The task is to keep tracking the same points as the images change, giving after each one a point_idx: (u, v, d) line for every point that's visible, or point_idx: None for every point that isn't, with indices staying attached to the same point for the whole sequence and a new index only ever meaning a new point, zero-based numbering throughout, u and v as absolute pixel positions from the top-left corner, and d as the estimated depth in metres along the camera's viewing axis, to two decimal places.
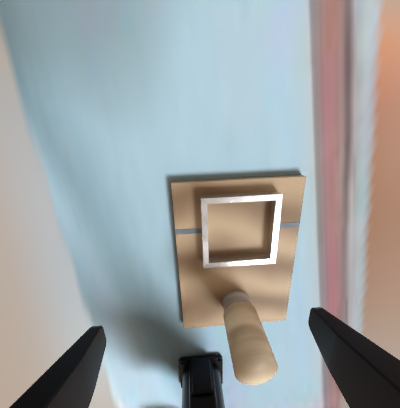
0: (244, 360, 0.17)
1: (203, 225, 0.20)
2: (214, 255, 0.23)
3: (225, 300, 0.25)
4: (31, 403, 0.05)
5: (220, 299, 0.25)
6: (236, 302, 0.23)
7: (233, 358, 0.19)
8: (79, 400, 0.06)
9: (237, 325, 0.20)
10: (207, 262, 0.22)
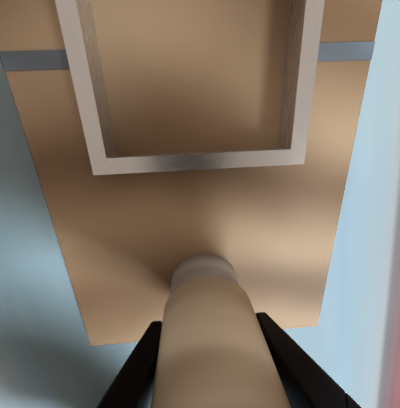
0: None
1: None
2: (135, 151, 0.08)
3: (174, 277, 0.10)
4: (121, 395, 0.06)
5: (166, 278, 0.11)
6: (196, 279, 0.08)
7: None
8: None
9: (180, 352, 0.06)
10: (101, 154, 0.07)
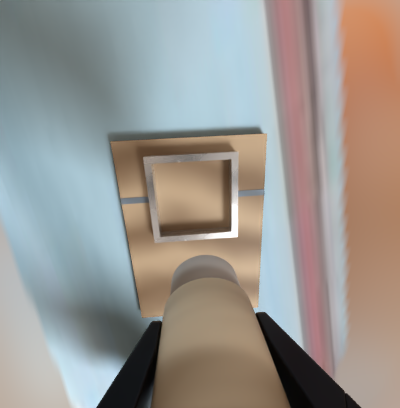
0: None
1: (149, 190, 0.18)
2: (169, 229, 0.20)
3: (174, 278, 0.10)
4: (121, 395, 0.06)
5: None
6: (196, 280, 0.08)
7: None
8: None
9: (180, 353, 0.06)
10: (158, 236, 0.19)
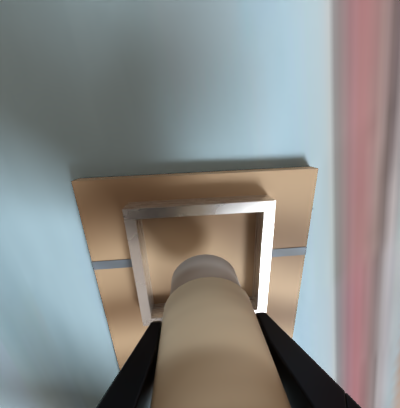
0: None
1: (133, 256, 0.11)
2: (165, 301, 0.14)
3: (174, 278, 0.10)
4: (121, 395, 0.06)
5: None
6: (196, 280, 0.08)
7: None
8: None
9: (180, 352, 0.06)
10: (148, 317, 0.13)
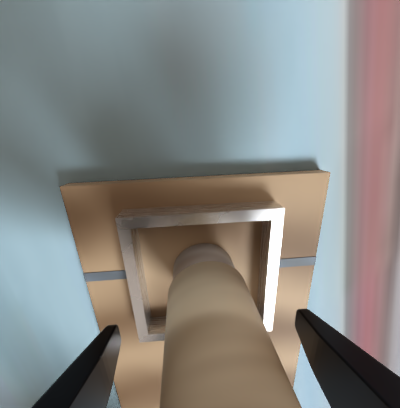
0: None
1: (127, 269, 0.10)
2: (163, 314, 0.13)
3: (176, 265, 0.11)
4: (54, 401, 0.05)
5: None
6: (197, 264, 0.09)
7: None
8: (99, 398, 0.06)
9: (187, 320, 0.07)
10: (145, 333, 0.12)
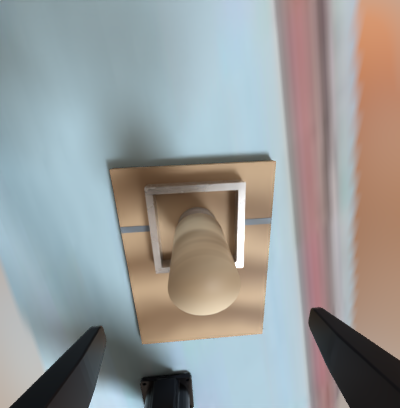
0: (182, 265, 0.10)
1: (150, 221, 0.17)
2: None
3: (179, 219, 0.17)
4: (31, 403, 0.05)
5: None
6: (192, 215, 0.16)
7: None
8: (79, 400, 0.06)
9: (184, 233, 0.13)
10: (159, 266, 0.18)
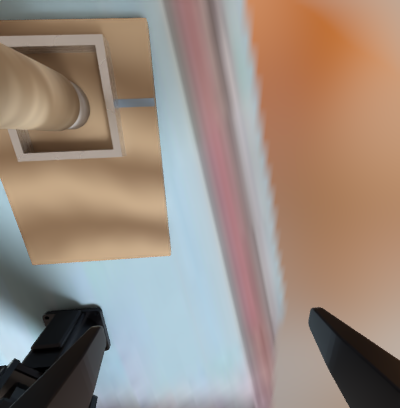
0: None
1: None
2: (43, 150, 0.17)
3: None
4: (31, 404, 0.05)
5: (71, 221, 0.19)
6: None
7: None
8: (79, 400, 0.06)
9: None
10: (20, 151, 0.16)
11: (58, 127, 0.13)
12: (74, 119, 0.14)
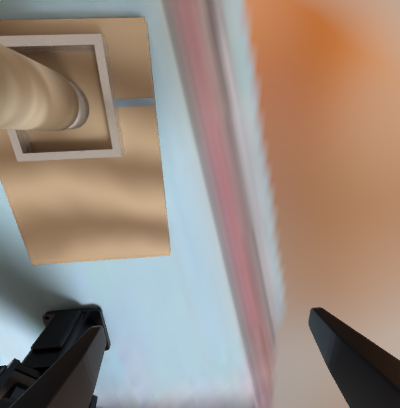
0: None
1: None
2: (43, 150, 0.17)
3: None
4: (31, 404, 0.05)
5: (71, 221, 0.19)
6: None
7: None
8: (79, 400, 0.06)
9: None
10: (20, 151, 0.16)
11: (57, 127, 0.13)
12: (73, 119, 0.14)
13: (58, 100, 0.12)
